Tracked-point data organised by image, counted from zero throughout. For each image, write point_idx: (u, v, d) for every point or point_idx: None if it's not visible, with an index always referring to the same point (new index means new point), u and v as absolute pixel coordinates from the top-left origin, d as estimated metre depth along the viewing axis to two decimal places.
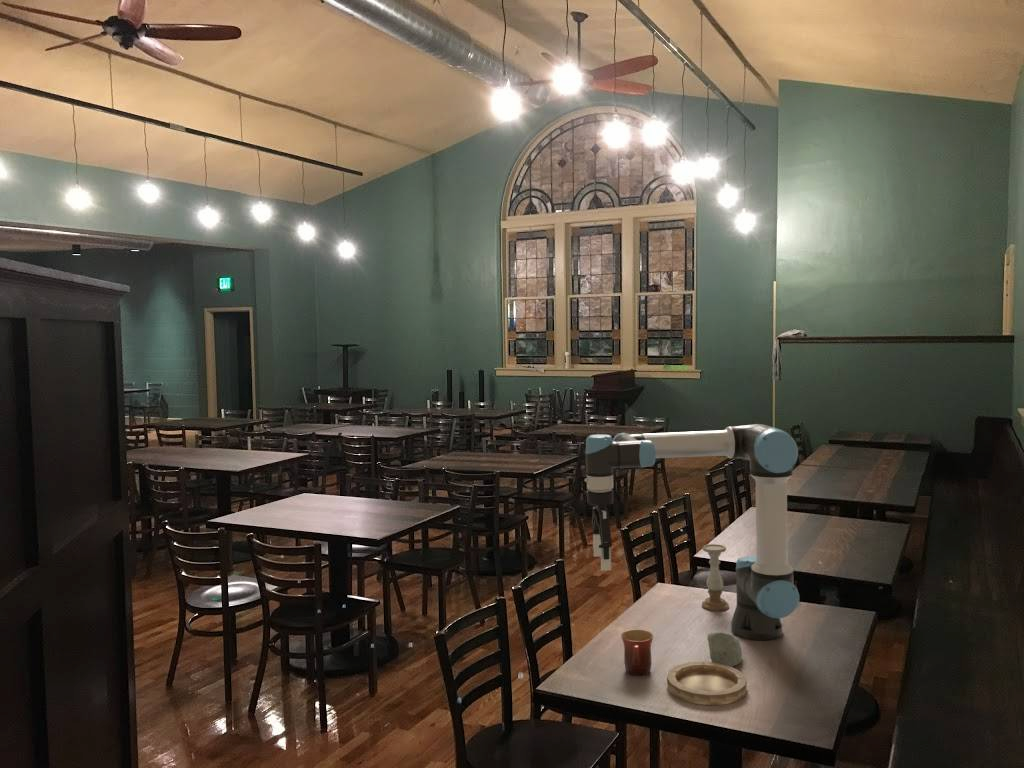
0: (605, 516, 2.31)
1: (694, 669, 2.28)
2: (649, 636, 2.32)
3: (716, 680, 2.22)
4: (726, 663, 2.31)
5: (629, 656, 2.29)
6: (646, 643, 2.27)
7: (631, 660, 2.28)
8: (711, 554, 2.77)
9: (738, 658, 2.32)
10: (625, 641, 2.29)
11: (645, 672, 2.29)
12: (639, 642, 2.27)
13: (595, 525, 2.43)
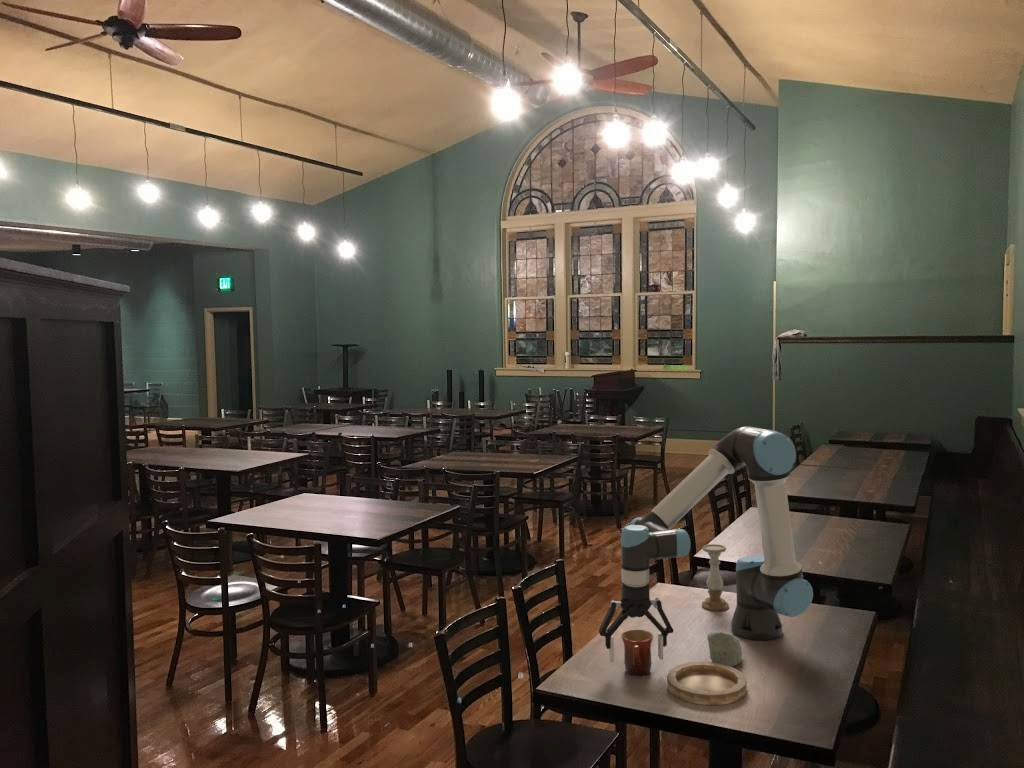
0: (610, 606, 2.28)
1: (694, 669, 2.28)
2: (649, 636, 2.32)
3: (716, 680, 2.22)
4: (726, 663, 2.31)
5: (629, 656, 2.29)
6: (646, 643, 2.27)
7: (631, 660, 2.28)
8: (711, 554, 2.77)
9: (738, 658, 2.32)
10: (625, 641, 2.29)
11: (645, 672, 2.29)
12: (639, 642, 2.27)
13: None
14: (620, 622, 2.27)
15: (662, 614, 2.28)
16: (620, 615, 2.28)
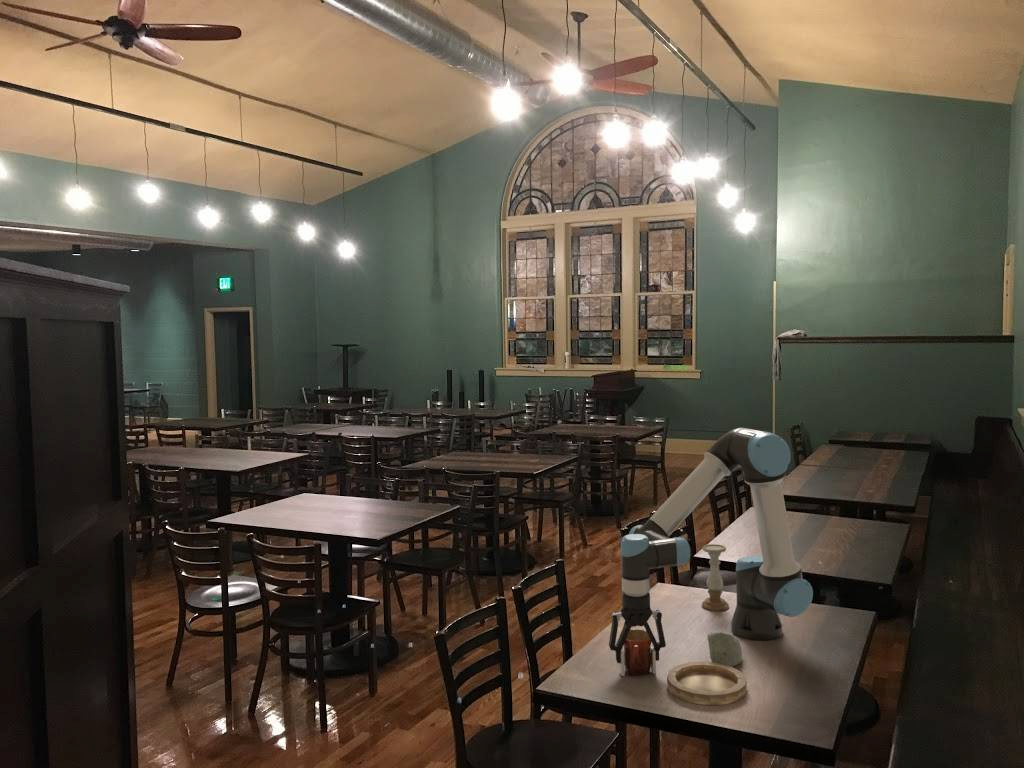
0: (612, 619, 2.28)
1: (694, 669, 2.28)
2: None
3: (716, 680, 2.22)
4: (726, 663, 2.31)
5: (629, 656, 2.29)
6: (646, 643, 2.27)
7: (631, 660, 2.28)
8: (711, 554, 2.77)
9: (738, 658, 2.32)
10: (625, 641, 2.29)
11: (645, 672, 2.29)
12: (639, 642, 2.27)
13: None
14: (626, 634, 2.28)
15: (660, 626, 2.28)
16: (624, 627, 2.29)
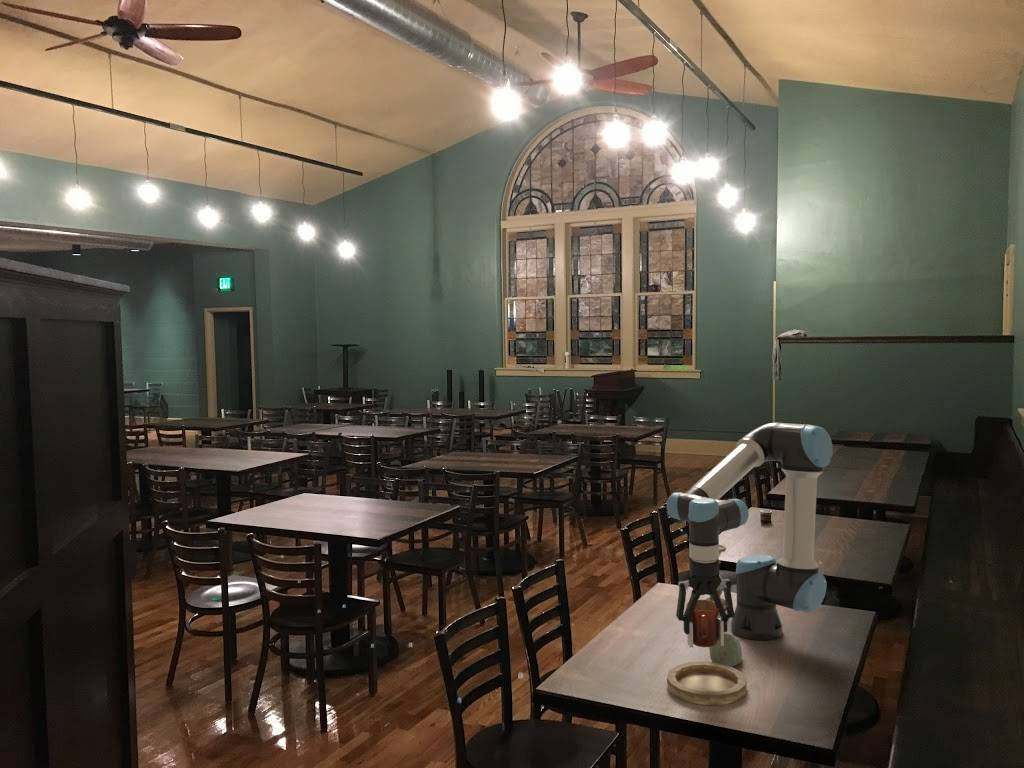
0: (680, 588, 2.17)
1: (694, 669, 2.28)
2: (715, 606, 2.21)
3: (716, 680, 2.22)
4: (726, 663, 2.31)
5: (695, 627, 2.18)
6: (714, 613, 2.16)
7: (697, 631, 2.17)
8: None
9: (738, 658, 2.32)
10: None
11: (712, 644, 2.17)
12: (707, 612, 2.16)
13: (715, 603, 2.19)
14: (694, 603, 2.17)
15: (729, 596, 2.17)
16: (692, 596, 2.18)
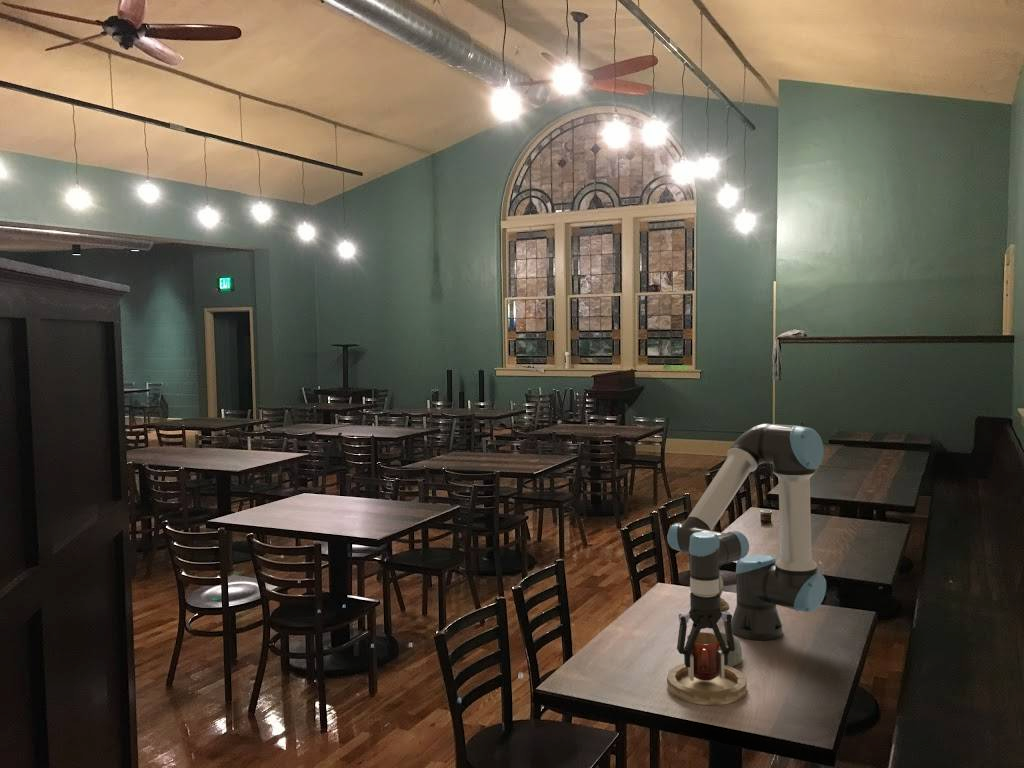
0: (680, 621, 2.18)
1: None
2: (716, 639, 2.22)
3: (716, 680, 2.22)
4: None
5: (696, 660, 2.18)
6: (714, 646, 2.17)
7: (698, 664, 2.18)
8: None
9: (738, 658, 2.32)
10: None
11: (713, 677, 2.18)
12: (707, 645, 2.16)
13: (716, 637, 2.20)
14: (695, 636, 2.17)
15: (729, 629, 2.18)
16: (693, 630, 2.18)
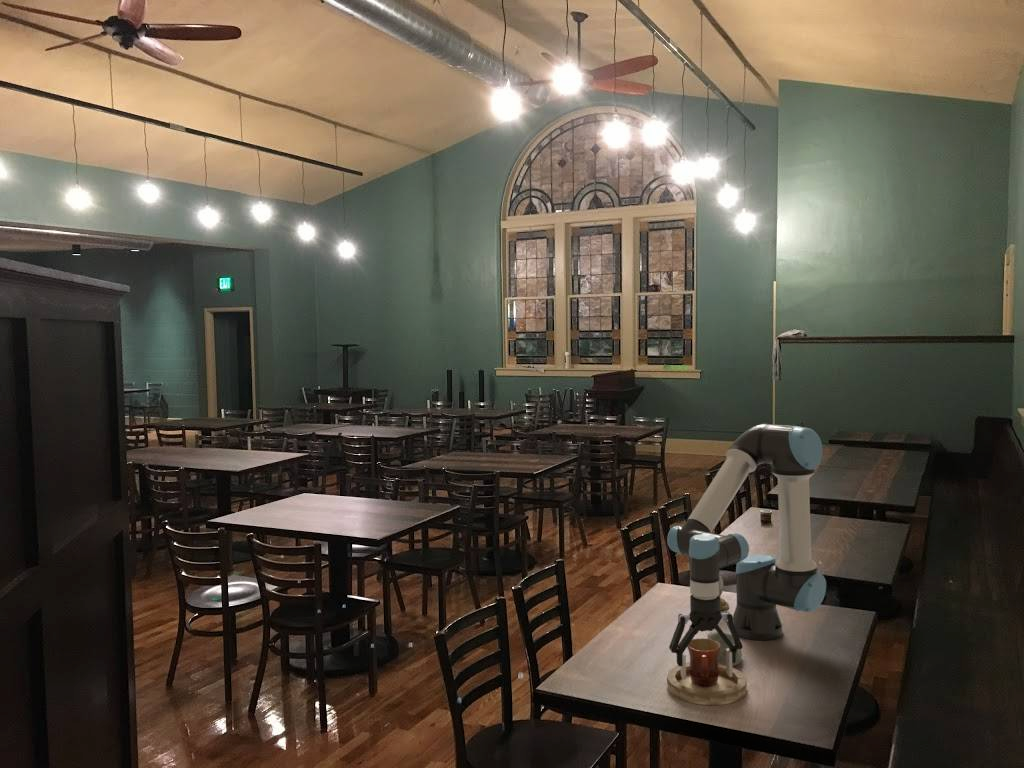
0: (679, 621, 2.18)
1: None
2: (716, 645, 2.22)
3: None
4: None
5: (696, 666, 2.19)
6: (714, 653, 2.17)
7: (698, 671, 2.18)
8: None
9: (738, 658, 2.32)
10: (692, 651, 2.19)
11: (713, 683, 2.18)
12: (707, 652, 2.16)
13: None
14: (691, 637, 2.17)
15: (733, 628, 2.18)
16: (690, 630, 2.18)
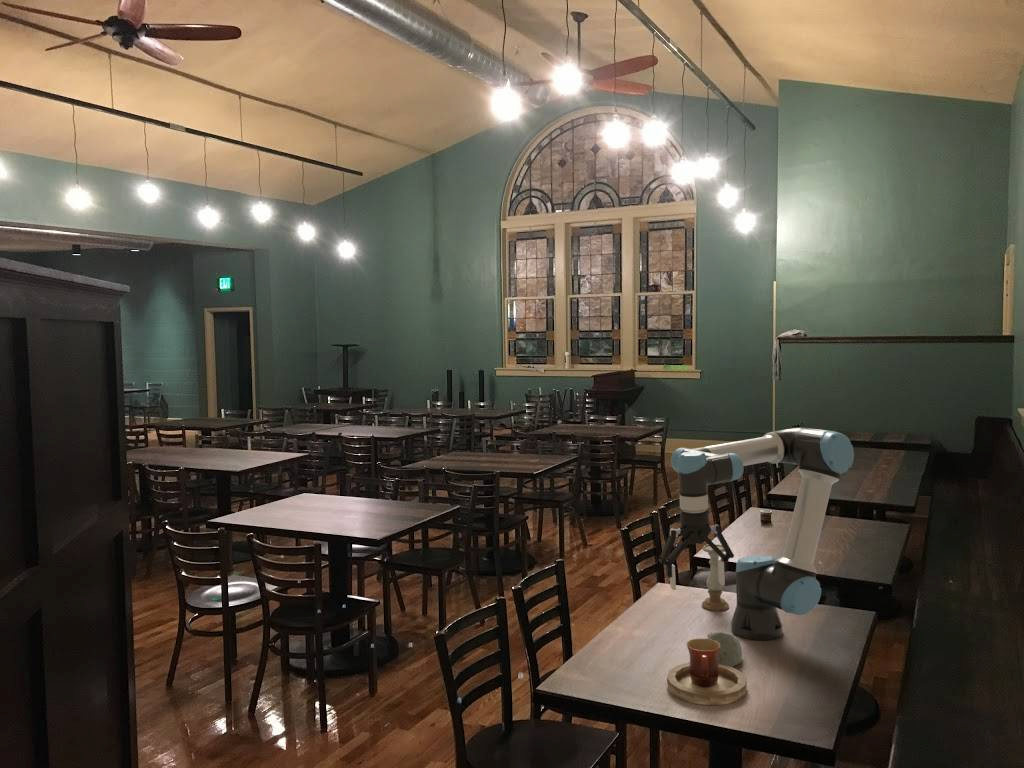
0: (670, 534, 2.26)
1: None
2: (716, 645, 2.22)
3: None
4: (726, 663, 2.31)
5: (696, 666, 2.19)
6: (714, 653, 2.17)
7: (698, 671, 2.18)
8: (711, 554, 2.77)
9: (738, 658, 2.32)
10: (692, 651, 2.19)
11: (713, 683, 2.18)
12: (707, 652, 2.16)
13: None
14: (681, 550, 2.25)
15: (722, 539, 2.26)
16: (680, 543, 2.26)
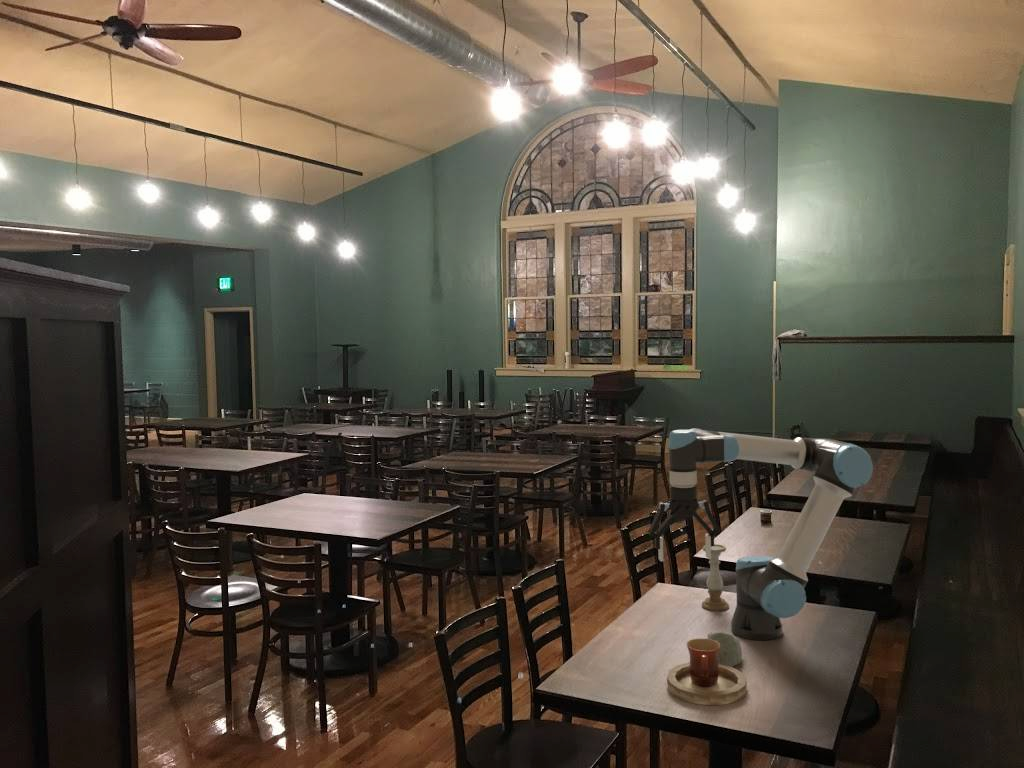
0: (659, 508, 2.36)
1: None
2: (716, 645, 2.22)
3: None
4: (726, 663, 2.31)
5: (696, 666, 2.19)
6: (714, 653, 2.17)
7: (698, 671, 2.18)
8: (711, 554, 2.77)
9: (738, 658, 2.32)
10: (692, 651, 2.19)
11: (713, 683, 2.18)
12: (707, 652, 2.16)
13: None
14: (669, 523, 2.35)
15: (710, 514, 2.36)
16: (669, 517, 2.36)
